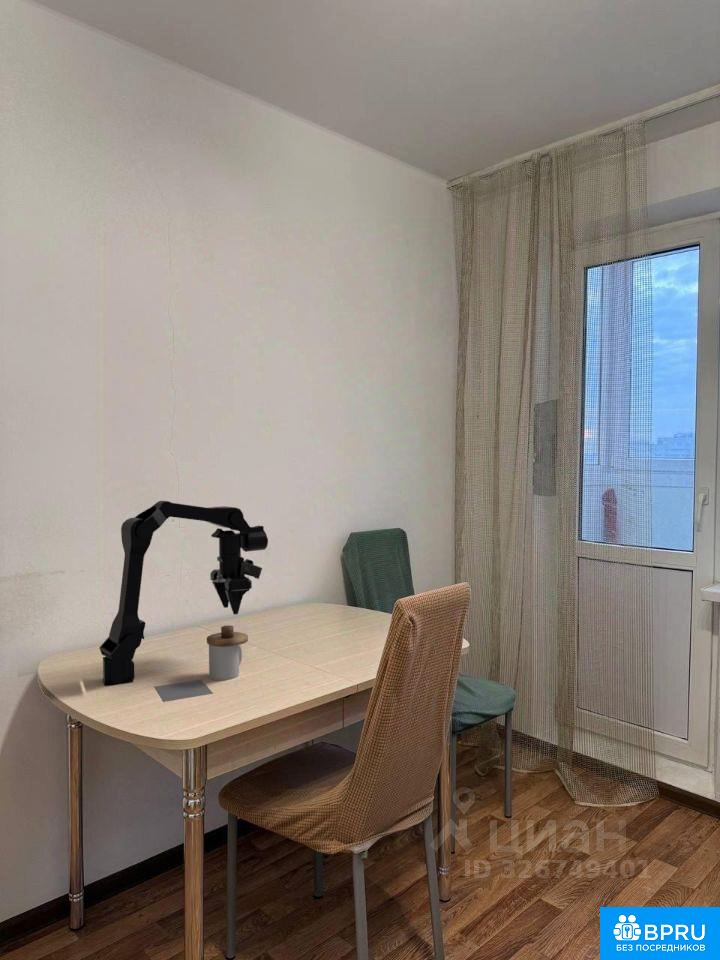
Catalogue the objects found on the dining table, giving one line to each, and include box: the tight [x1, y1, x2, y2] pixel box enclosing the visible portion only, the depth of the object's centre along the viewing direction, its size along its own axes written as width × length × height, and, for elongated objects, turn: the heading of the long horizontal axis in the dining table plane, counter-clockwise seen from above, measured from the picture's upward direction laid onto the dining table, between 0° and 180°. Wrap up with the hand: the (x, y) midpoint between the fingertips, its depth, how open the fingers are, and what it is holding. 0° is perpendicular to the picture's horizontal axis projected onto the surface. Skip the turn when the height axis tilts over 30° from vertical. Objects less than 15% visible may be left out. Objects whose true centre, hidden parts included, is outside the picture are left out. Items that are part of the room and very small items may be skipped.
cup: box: [208, 644, 243, 681], centre depth 167 cm, size 7×10×9 cm
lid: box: [206, 624, 249, 647], centre depth 166 cm, size 10×10×4 cm
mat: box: [154, 678, 214, 703], centre depth 155 cm, size 11×11×1 cm
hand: (230, 610), depth 181 cm, fingers open, 9 cm apart
